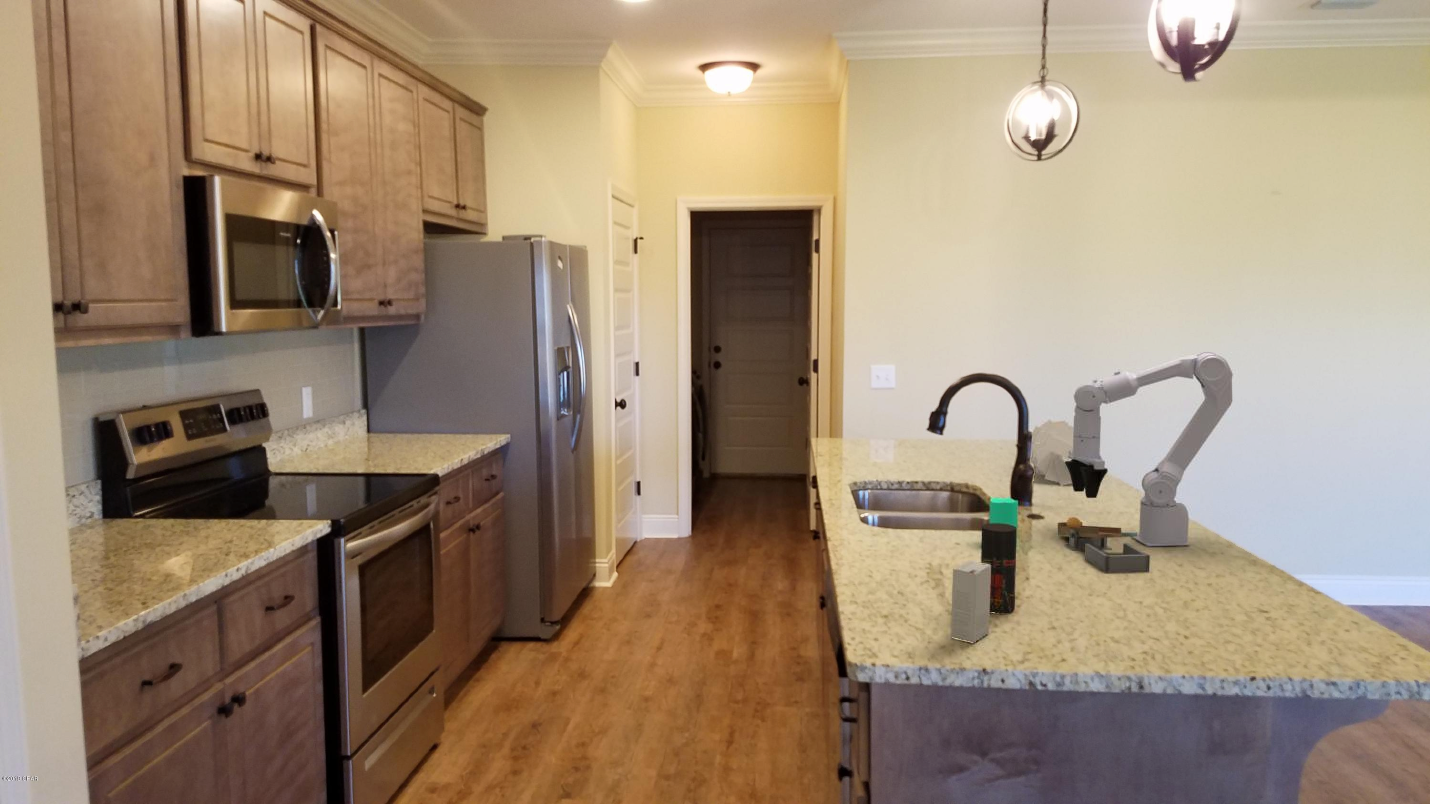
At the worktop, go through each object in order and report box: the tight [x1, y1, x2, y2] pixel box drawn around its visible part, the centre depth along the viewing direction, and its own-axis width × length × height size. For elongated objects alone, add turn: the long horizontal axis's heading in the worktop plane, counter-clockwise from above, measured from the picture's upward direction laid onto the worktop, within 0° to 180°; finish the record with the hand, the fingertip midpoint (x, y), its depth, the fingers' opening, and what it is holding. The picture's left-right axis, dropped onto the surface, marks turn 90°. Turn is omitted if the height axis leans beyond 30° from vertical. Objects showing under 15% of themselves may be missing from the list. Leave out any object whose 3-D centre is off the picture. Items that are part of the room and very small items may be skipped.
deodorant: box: [980, 522, 1018, 614], centre depth 161 cm, size 6×6×15 cm
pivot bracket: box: [1064, 530, 1113, 552], centre depth 200 cm, size 9×4×4 cm, turn 92°
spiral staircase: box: [1030, 419, 1074, 487], centre depth 271 cm, size 18×18×25 cm
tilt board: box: [1057, 521, 1139, 539], centre depth 200 cm, size 10×20×3 cm, turn 2°
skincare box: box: [950, 560, 991, 644], centre depth 148 cm, size 6×4×12 cm
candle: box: [989, 497, 1019, 548], centre depth 202 cm, size 6×6×12 cm
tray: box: [1084, 542, 1151, 573], centre depth 186 cm, size 9×10×3 cm
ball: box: [1066, 516, 1082, 527], centre depth 207 cm, size 3×3×3 cm
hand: (1084, 494), depth 208 cm, fingers open, 6 cm apart
